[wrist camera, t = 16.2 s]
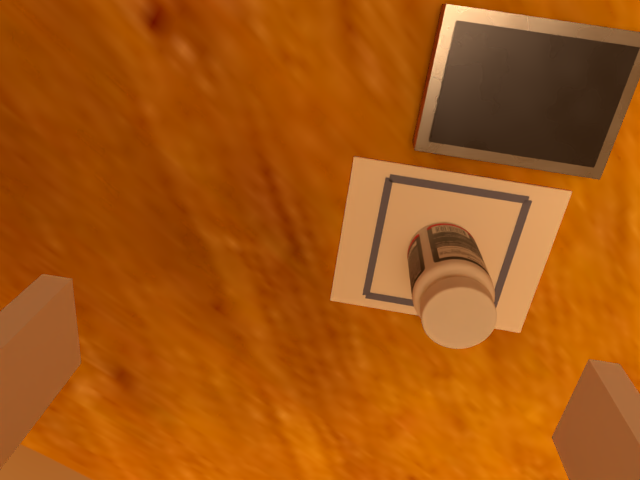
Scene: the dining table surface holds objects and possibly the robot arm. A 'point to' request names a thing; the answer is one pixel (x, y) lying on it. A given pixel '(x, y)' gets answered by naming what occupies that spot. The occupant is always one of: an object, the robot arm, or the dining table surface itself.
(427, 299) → the pill bottle
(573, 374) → the dining table surface
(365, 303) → the print card
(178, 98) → the dining table surface
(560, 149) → the ink pad
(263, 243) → the dining table surface
